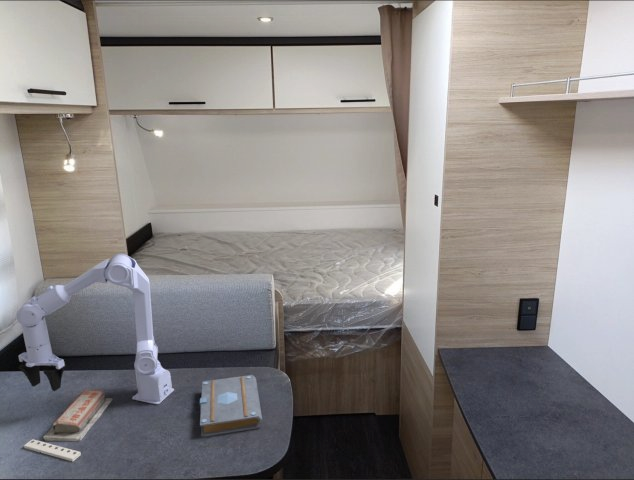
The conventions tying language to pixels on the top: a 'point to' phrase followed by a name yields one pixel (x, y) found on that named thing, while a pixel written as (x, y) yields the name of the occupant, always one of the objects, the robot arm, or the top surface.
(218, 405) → the book
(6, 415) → the top surface
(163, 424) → the top surface
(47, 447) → the perforated board
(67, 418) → the packaged product
